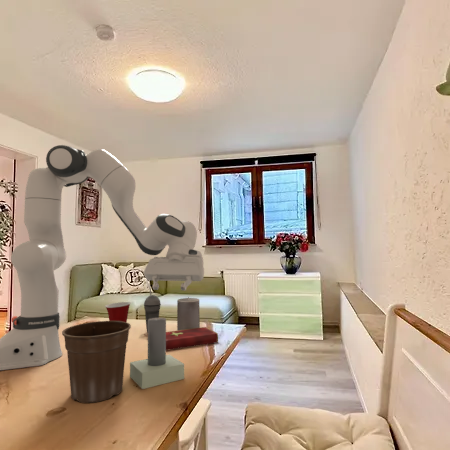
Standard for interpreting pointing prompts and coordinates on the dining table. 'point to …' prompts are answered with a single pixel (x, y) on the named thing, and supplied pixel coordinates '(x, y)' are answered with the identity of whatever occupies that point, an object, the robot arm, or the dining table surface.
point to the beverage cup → (151, 307)
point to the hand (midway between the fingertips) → (169, 289)
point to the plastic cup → (118, 311)
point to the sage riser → (156, 372)
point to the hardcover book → (190, 338)
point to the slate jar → (156, 341)
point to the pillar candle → (188, 313)
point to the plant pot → (96, 359)
